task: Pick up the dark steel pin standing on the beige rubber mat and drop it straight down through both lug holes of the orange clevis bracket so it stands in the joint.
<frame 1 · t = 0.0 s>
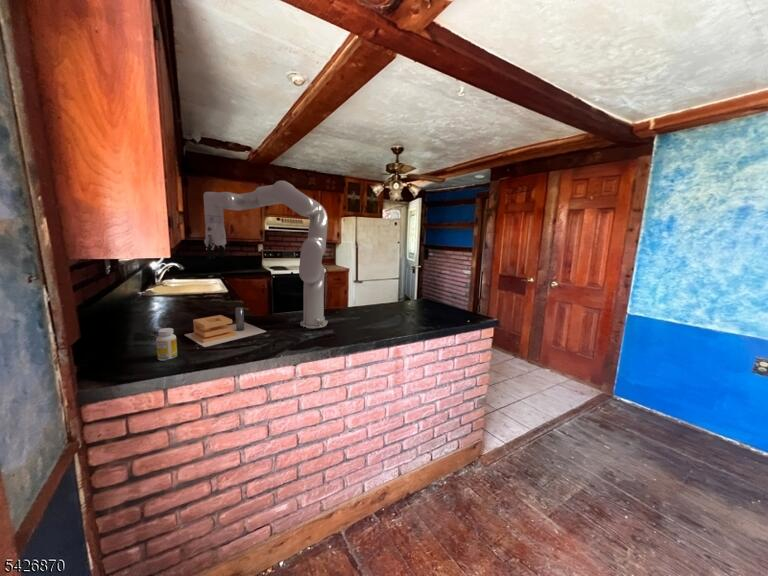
hand: (216, 257, 144), 31 cm above the counter, tool pointing down, fingers open, 9 cm apart
pin: (240, 329, 138), point 1 cm above the counter, touching mat
mat: (226, 334, 134), on the counter
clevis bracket: (214, 335, 130), resting on mat
supplement bottle: (168, 358, 108), on the counter
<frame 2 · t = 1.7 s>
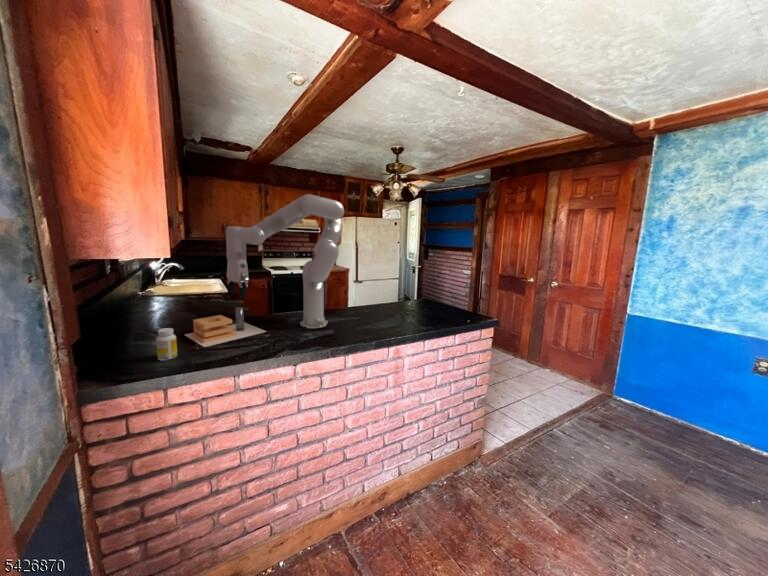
hand: (237, 294, 135), 17 cm above the counter, tool pointing down, fingers open, 9 cm apart
nothing on the counter moved.
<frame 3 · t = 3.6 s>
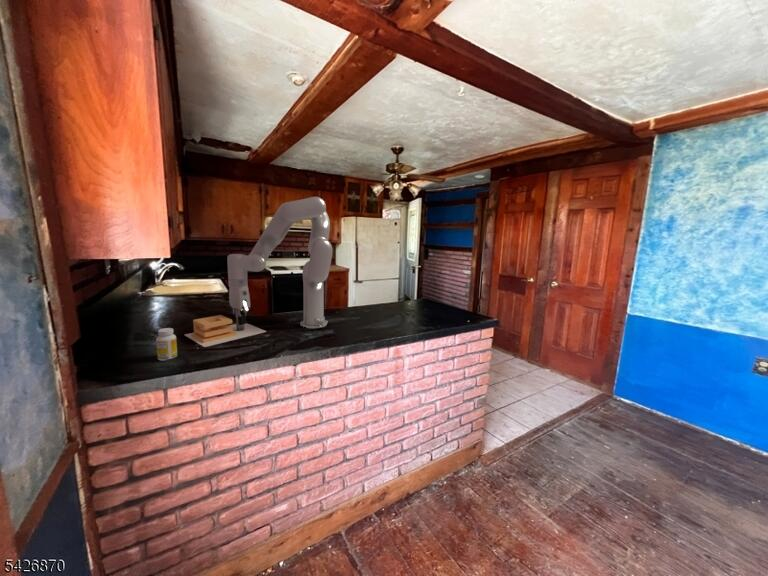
hand: (240, 323, 138), 4 cm above the counter, tool pointing down, fingers closed on pin, 3 cm apart
pin: (240, 329, 138), point 1 cm above the counter, touching gripper, mat
everything else where it was.
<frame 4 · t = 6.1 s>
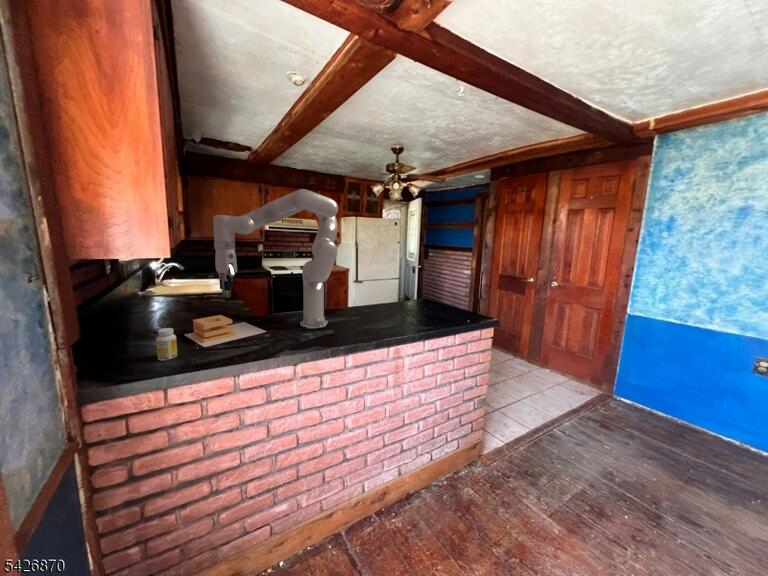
hand: (226, 289, 131), 20 cm above the counter, tool pointing down, fingers closed on pin, 3 cm apart
pin: (226, 296, 131), point 17 cm above the counter, touching gripper
everything else where it was.
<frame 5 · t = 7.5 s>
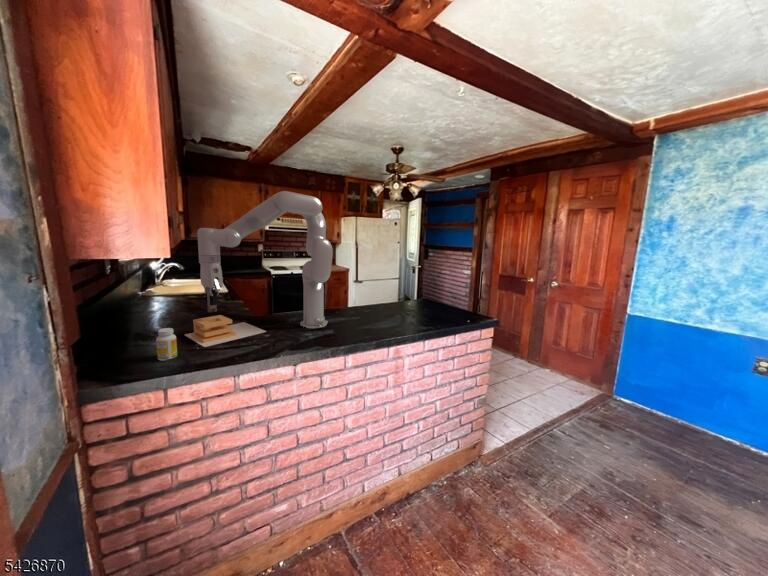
hand: (212, 303, 127), 14 cm above the counter, tool pointing down, fingers closed on pin, 3 cm apart
pin: (212, 311, 128), point 11 cm above the counter, touching gripper
everything else where it was.
when the fingers open (8 cm above the counter, at t = 8.8 s): pin drops 4 cm, resting on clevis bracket.
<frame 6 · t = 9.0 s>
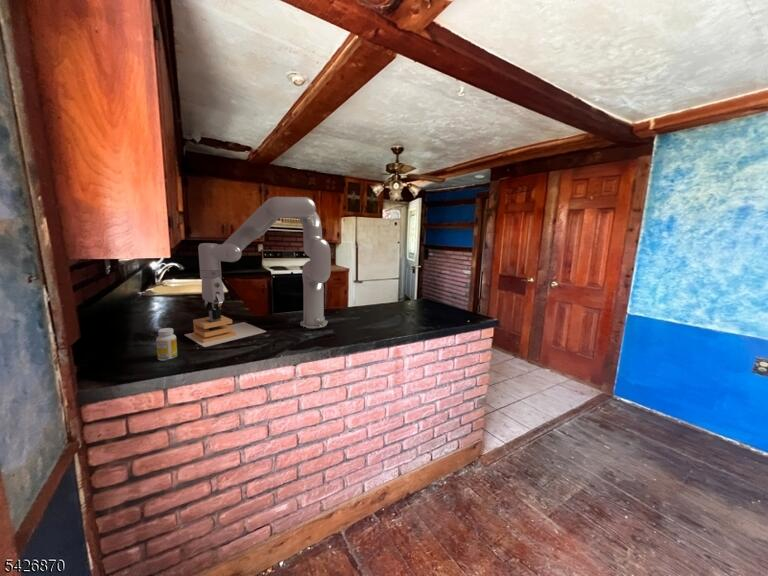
hand: (213, 316, 128), 9 cm above the counter, tool pointing down, fingers open, 5 cm apart
pin: (214, 333, 130), point 2 cm above the counter, touching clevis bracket
everything else where it was.
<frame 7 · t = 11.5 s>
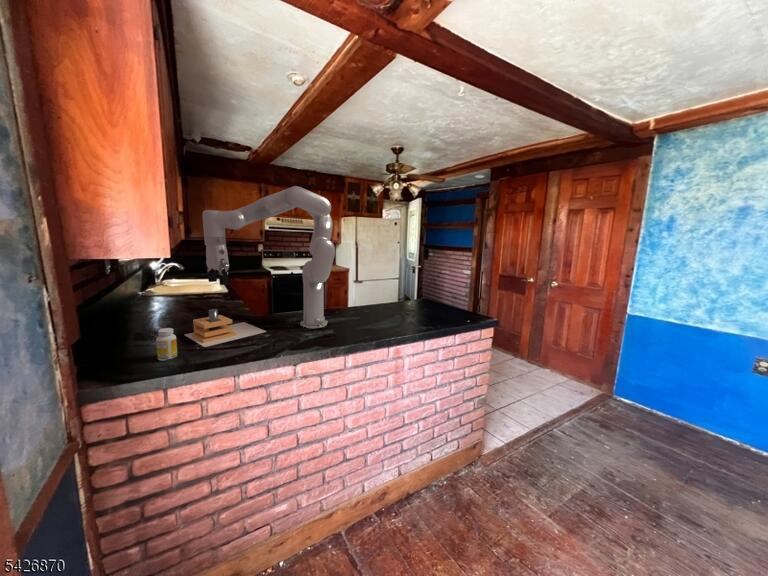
hand: (218, 283, 129), 23 cm above the counter, tool pointing down, fingers open, 9 cm apart
nothing on the counter moved.
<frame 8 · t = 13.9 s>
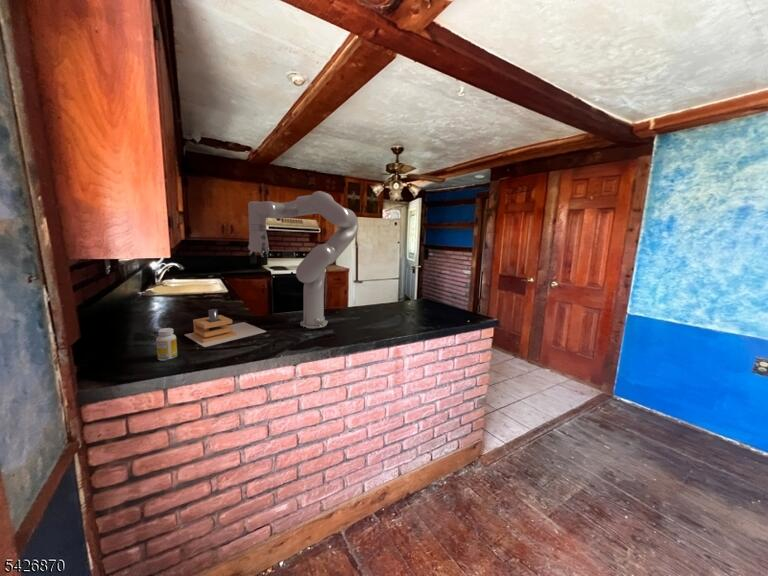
hand: (258, 264, 150), 28 cm above the counter, tool pointing down, fingers open, 9 cm apart
nothing on the counter moved.
at the end: pin 0.2 cm off-centre on the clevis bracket, point 1.0 cm above the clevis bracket's base; pin tilted 1°; the gripper is holding nothing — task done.
